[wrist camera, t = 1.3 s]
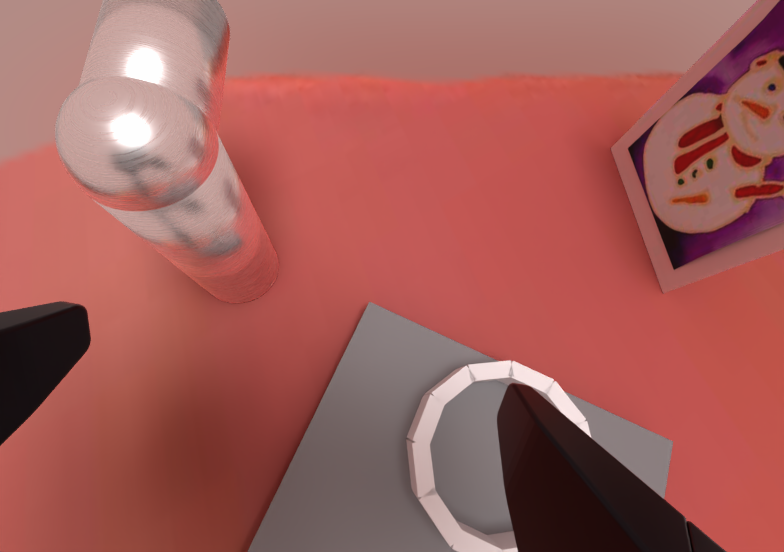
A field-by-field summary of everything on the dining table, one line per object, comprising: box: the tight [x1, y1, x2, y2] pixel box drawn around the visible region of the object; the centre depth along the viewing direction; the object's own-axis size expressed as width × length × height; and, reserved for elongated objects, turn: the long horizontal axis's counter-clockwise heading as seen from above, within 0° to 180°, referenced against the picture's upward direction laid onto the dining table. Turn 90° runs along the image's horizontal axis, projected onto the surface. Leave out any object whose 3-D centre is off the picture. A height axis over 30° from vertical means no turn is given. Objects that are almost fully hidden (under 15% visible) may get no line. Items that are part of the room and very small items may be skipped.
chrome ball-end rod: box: [55, 0, 279, 303], centre depth 17 cm, size 8×4×13 cm, turn 2°
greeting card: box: [610, 0, 784, 293], centre depth 20 cm, size 11×7×15 cm, turn 7°
